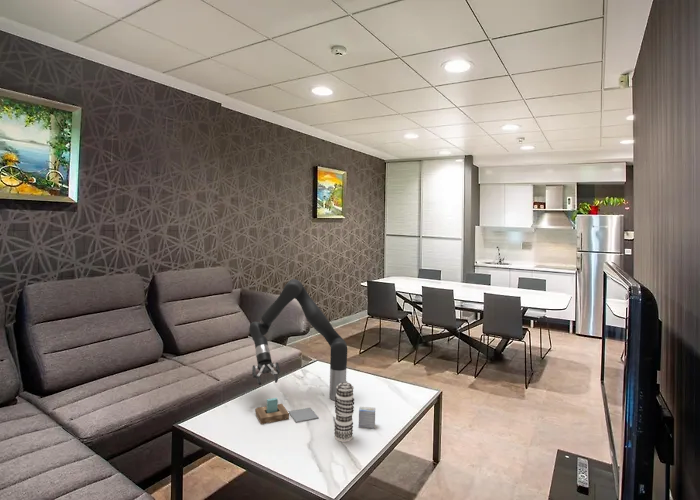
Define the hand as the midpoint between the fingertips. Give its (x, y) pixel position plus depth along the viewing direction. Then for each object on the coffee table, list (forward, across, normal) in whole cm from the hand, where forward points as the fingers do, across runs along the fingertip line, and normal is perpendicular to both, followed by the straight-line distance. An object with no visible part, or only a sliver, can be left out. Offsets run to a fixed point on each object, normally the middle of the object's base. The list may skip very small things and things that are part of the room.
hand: (268, 383), depth 217 cm
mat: (+19, +15, +1) cm, 24 cm away
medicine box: (+35, +40, -14) cm, 55 cm away
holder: (+16, 0, +4) cm, 16 cm away
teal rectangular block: (+16, 0, +5) cm, 16 cm away
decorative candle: (+38, +25, -18) cm, 49 cm away
